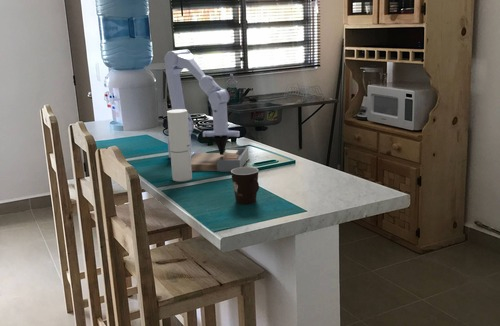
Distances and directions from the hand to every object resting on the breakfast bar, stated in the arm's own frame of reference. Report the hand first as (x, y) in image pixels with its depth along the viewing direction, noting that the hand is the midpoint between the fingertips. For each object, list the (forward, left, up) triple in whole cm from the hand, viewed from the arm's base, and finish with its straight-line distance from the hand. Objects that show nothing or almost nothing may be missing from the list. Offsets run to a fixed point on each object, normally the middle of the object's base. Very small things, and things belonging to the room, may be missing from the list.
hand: (222, 154), depth 214 cm
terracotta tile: (+5, -7, -2) cm, 9 cm away
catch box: (+5, -3, -3) cm, 7 cm away
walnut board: (-6, -3, -3) cm, 7 cm away
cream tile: (+3, 0, -1) cm, 4 cm away
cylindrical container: (-10, -21, -4) cm, 24 cm away
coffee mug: (+18, -45, -4) cm, 49 cm away
